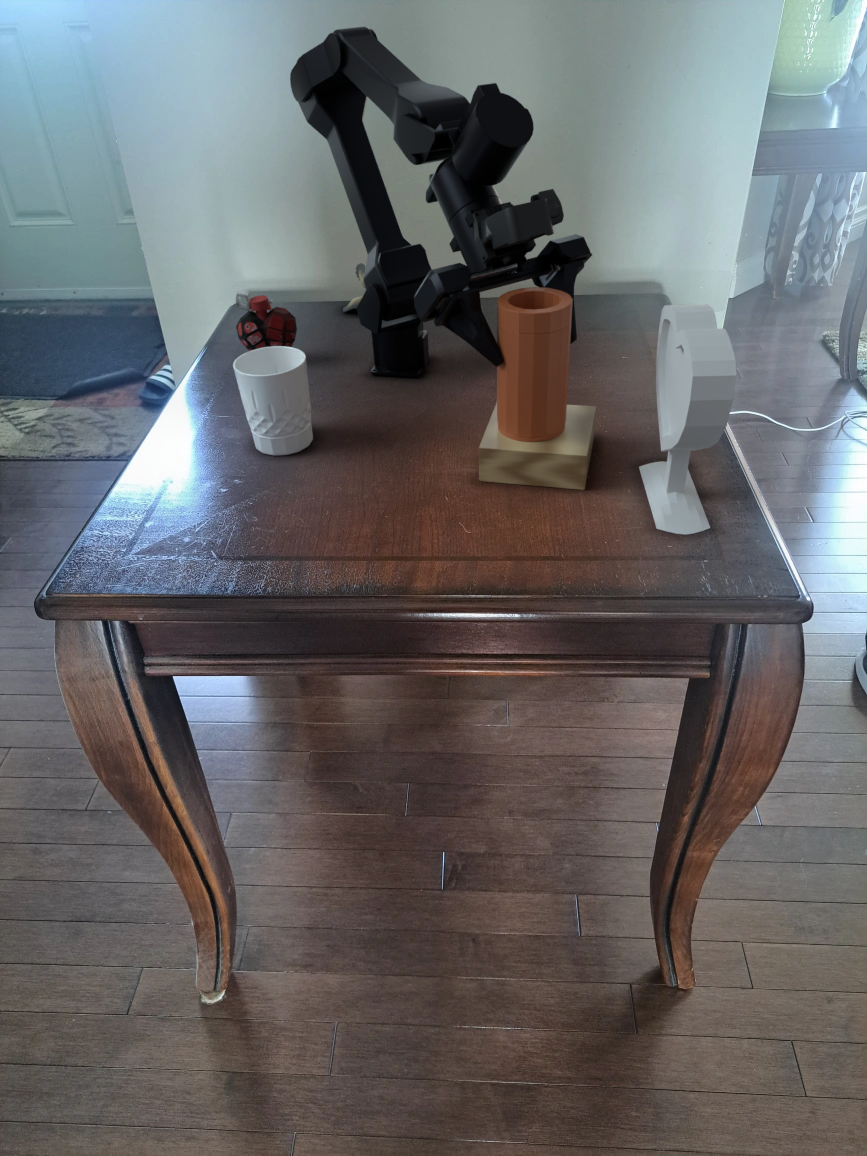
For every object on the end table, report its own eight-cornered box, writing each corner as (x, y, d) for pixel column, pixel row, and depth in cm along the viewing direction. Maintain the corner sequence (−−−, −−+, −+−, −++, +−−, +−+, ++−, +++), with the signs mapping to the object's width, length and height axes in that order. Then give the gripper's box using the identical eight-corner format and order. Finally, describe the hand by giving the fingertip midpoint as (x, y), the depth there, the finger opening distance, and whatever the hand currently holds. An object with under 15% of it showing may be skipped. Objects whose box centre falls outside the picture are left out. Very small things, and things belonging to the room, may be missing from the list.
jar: (505, 408, 91) (506, 285, 83) (570, 413, 90) (577, 288, 81) (490, 438, 86) (490, 310, 78) (558, 445, 84) (565, 315, 76)
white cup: (305, 461, 92) (291, 377, 86) (239, 456, 94) (221, 374, 88) (326, 427, 98) (315, 347, 92) (264, 424, 100) (248, 344, 94)
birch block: (479, 481, 87) (478, 447, 85) (497, 432, 96) (497, 400, 93) (584, 490, 85) (587, 455, 82) (593, 438, 93) (596, 406, 91)
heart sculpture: (636, 457, 90) (655, 290, 78) (683, 456, 89) (709, 289, 78) (660, 540, 77) (687, 357, 66) (715, 540, 77) (751, 355, 66)
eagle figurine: (410, 295, 130) (360, 279, 132) (402, 265, 123) (350, 248, 125) (389, 334, 128) (338, 317, 130) (380, 306, 121) (327, 289, 123)
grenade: (244, 359, 116) (229, 287, 110) (301, 353, 117) (290, 281, 110) (243, 374, 112) (228, 300, 106) (302, 367, 113) (291, 294, 106)
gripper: (422, 179, 73) (493, 338, 72) (587, 147, 80) (653, 291, 80) (386, 249, 83) (448, 390, 83) (535, 215, 91) (593, 344, 90)
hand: (537, 353), depth 83 cm, fingers open, 9 cm apart
